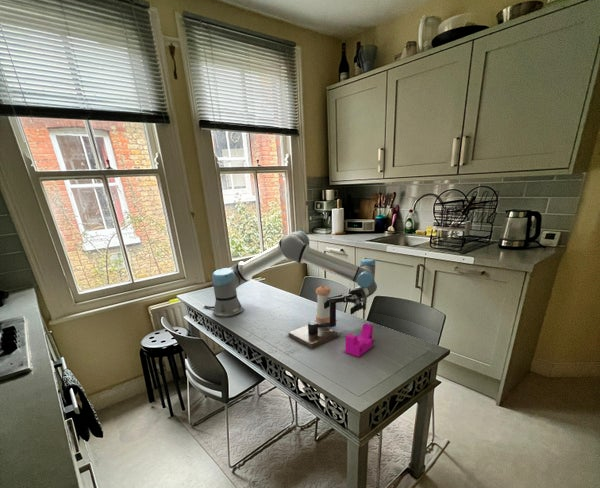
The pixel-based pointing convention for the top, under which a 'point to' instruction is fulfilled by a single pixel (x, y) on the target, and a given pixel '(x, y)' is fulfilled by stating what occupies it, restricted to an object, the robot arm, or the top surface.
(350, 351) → the toy block
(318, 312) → the pepper shaker
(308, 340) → the pivot base
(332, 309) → the black stand
